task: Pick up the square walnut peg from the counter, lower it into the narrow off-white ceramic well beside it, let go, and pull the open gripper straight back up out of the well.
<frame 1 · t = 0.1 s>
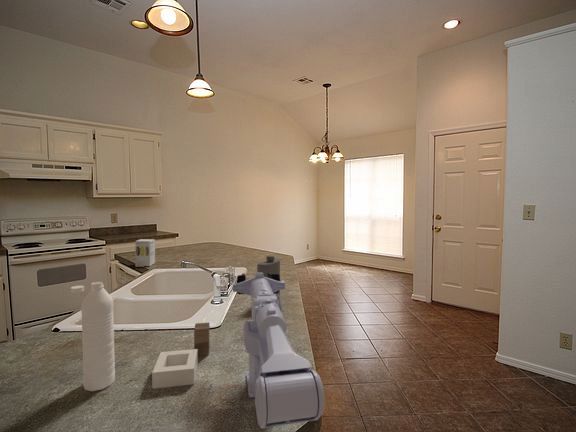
hand: (256, 276, 91), 22 cm above the worktop, tool horizontal, fingers open, 7 cm apart
water bottle: (94, 386, 71), on the worktop
supplement box: (145, 265, 195), on the worktop
walnut peg: (202, 352, 87), on the worktop
flask: (269, 300, 132), on the worktop
ceramic well: (176, 375, 76), on the worktop
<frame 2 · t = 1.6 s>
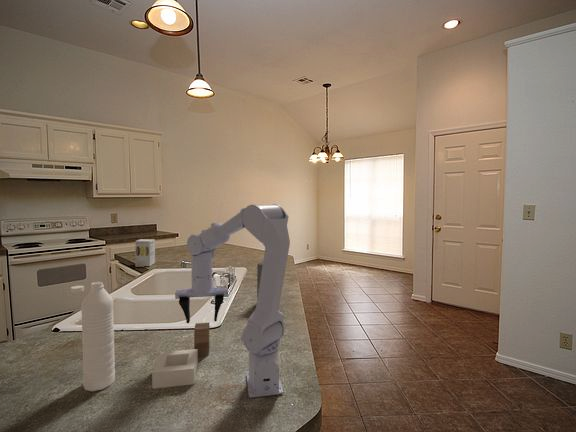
hand: (202, 320, 87), 9 cm above the worktop, tool pointing down, fingers open, 7 cm apart
nothing on the worktop moved.
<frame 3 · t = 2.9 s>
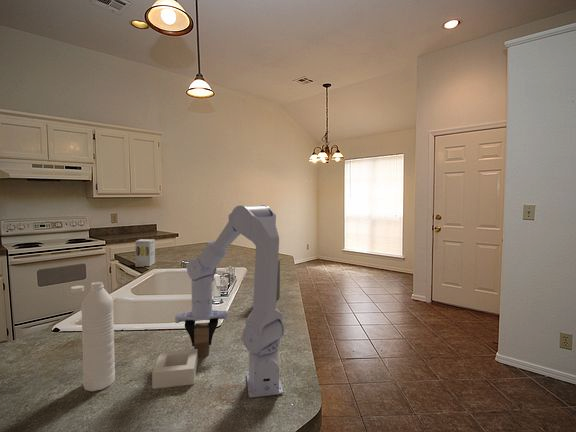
hand: (202, 344, 87), 2 cm above the worktop, tool pointing down, fingers closed on walnut peg, 4 cm apart
walnut peg: (202, 352, 87), on the worktop, touching gripper
everything else where it was.
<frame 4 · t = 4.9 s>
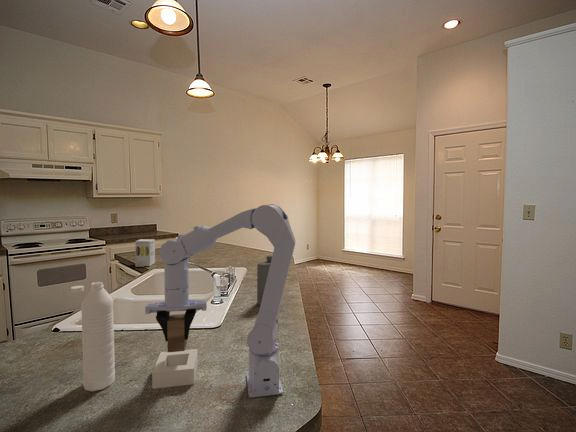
hand: (177, 338, 76), 9 cm above the worktop, tool pointing down, fingers closed on walnut peg, 4 cm apart
walnut peg: (177, 347, 76), point 7 cm above the worktop, touching gripper
everything else where it was.
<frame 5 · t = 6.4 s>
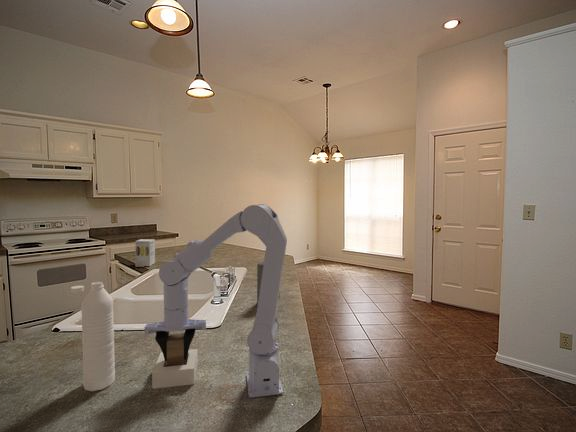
hand: (176, 358, 76), 4 cm above the worktop, tool pointing down, fingers closed on walnut peg, 4 cm apart
walnut peg: (176, 367, 76), point 2 cm above the worktop, touching gripper
everything else where it was.
when the fingers open (4 cm above the worktop, at t = 7.2 s): walnut peg drops 2 cm, resting in ceramic well.
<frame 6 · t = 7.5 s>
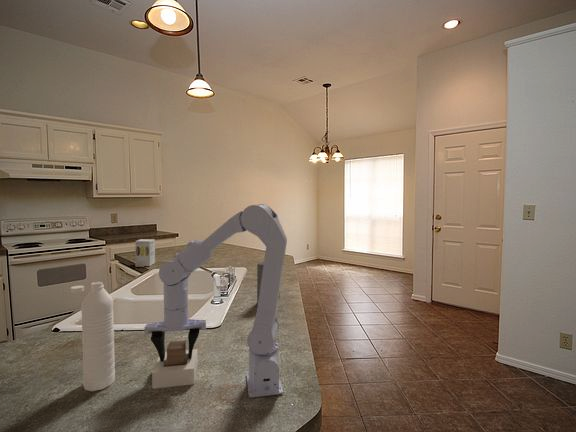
hand: (176, 358, 76), 4 cm above the worktop, tool pointing down, fingers open, 6 cm apart
walnut peg: (176, 374, 76), resting in ceramic well
everything else where it was.
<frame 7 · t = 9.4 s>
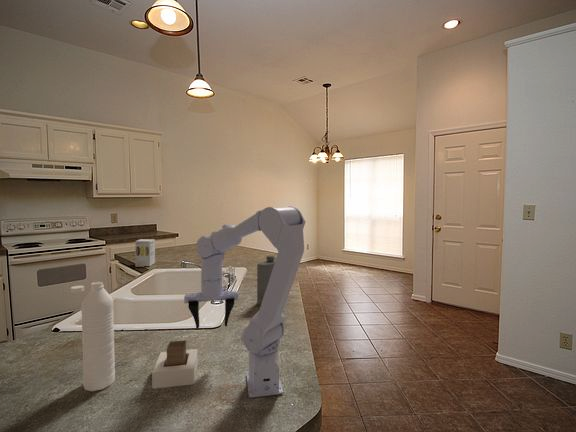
hand: (211, 325, 84), 9 cm above the worktop, tool pointing down, fingers open, 7 cm apart
nothing on the worktop moved.
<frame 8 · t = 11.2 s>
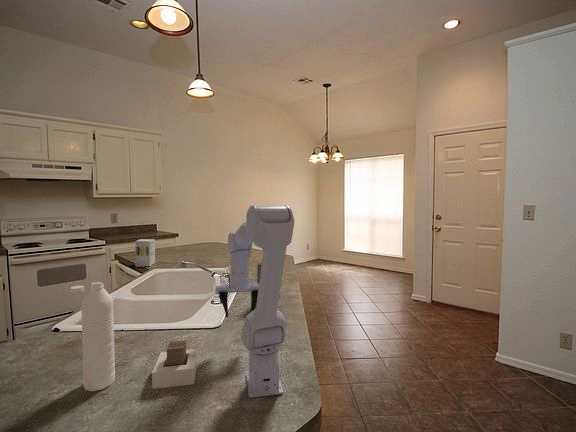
hand: (239, 315, 92), 9 cm above the worktop, tool pointing down, fingers open, 7 cm apart
nothing on the worktop moved.
at the end: walnut peg 0.1 cm off-centre on the ceramic well, point 0.0 cm above the ceramic well's base; walnut peg tilted 0°; the gripper is holding nothing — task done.
